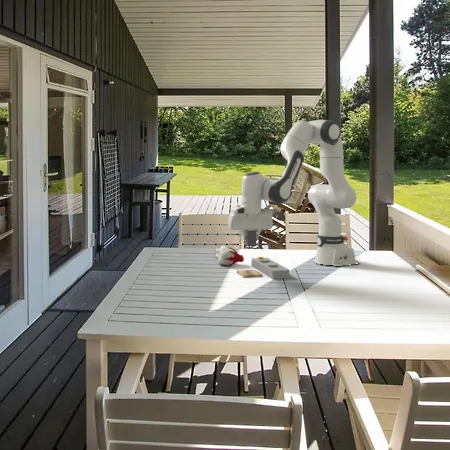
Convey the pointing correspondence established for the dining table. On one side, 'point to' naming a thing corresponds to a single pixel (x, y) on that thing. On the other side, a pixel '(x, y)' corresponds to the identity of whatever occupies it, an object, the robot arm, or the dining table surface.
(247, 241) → the block
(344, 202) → the robot arm
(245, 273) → the cork coaster
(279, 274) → the power strip
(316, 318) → the dining table surface
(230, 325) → the dining table surface
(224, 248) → the white red lumpy piece
